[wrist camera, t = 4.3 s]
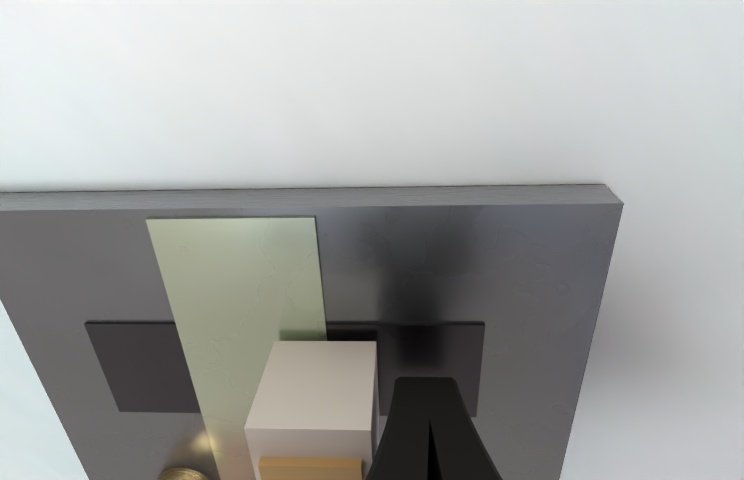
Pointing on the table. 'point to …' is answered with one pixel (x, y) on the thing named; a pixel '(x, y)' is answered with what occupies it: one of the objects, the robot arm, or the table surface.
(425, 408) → the robot arm
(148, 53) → the table surface
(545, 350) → the panel
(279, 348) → the block
